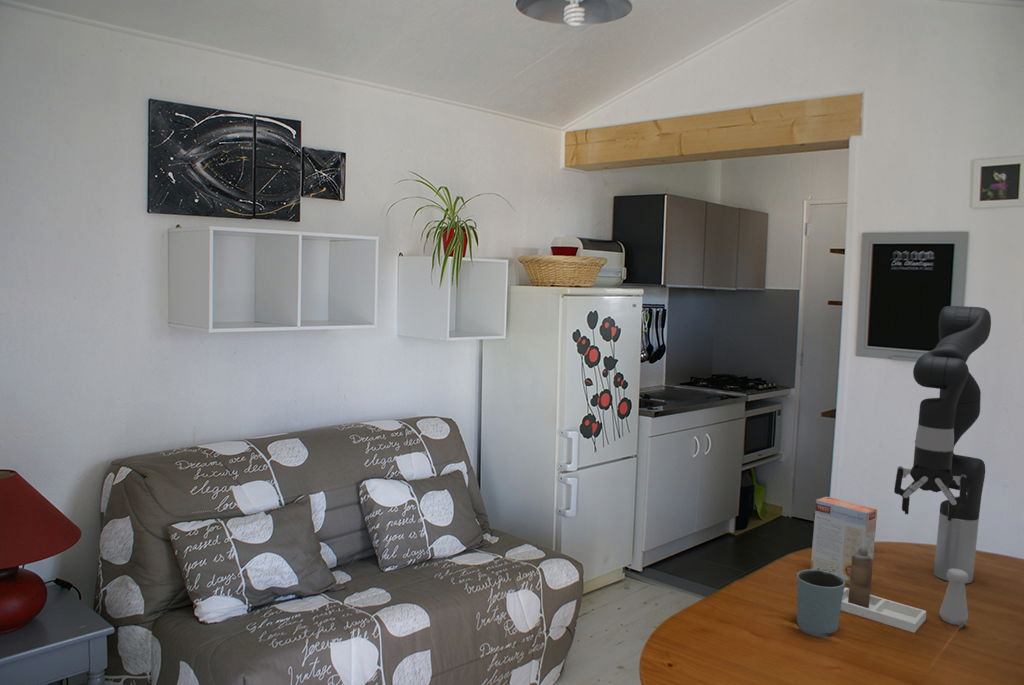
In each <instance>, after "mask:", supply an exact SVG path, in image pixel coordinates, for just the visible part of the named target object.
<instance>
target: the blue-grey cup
mask: <svg viewBox="0 0 1024 685" xmlns="http://www.w3.org/2000/svg"><path fill="white" fill-rule="evenodd" d="M845 586H846V584H845V581H844V579H843V578H841V577H840V576H838V575H836V574H834V573H831V572H827V571H823V570H815V569H811V568H810V569H809V568H808V569H803V570H800V571H798V572H797V573H796V588H797V594H796V595H797V596H796V607H797V608H796V612H797V613H796V623H797V624H796V626H797V627H798V629H799V630H800V629H801V630H800V631H802V632H803V633H806V634H808V635H809V636H810V635H811V636H813V637H819V638H831V637H833V635H831V634H832V633H835V632H837V631H838V628H839V624H840V622H839V619H840V615H841V611H842V610H841V603H842V596H843V592H844V588H846V587H845Z"/></svg>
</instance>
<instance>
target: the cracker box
mask: <svg viewBox="0 0 1024 685" xmlns="http://www.w3.org/2000/svg"><path fill="white" fill-rule="evenodd" d="M814 509H815V511H814V521H813V534H812V544H811V545H812V546H811V561H810V569H815V570H823V571H827V572H831V573H834V574H836V575H838V576H840V577H841V578H843V579H844V581H845V585H848V586H850V574H851V563H852V556H853V555H855V552H858V550H859V548H861V547H864V548H866V549H867V550H868V554H870V555H871V558H872V559H873V560H874V553H875V552H874V551H875V539H876V530H877V529H876V528H877V519H878V518H877V516H878V509H876V508H874V507H869V506H866V505H862V504H858V503H853V502H850V501H846V500H842V499H838V498H835V497H834V498H833V497H830V496H823V497H821V498H817V499H815V508H814Z"/></svg>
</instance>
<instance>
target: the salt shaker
mask: <svg viewBox="0 0 1024 685" xmlns="http://www.w3.org/2000/svg"><path fill="white" fill-rule="evenodd" d="M947 578H948V579H949V581H948V583H947V587H946V590H945V594H944V596H943V600H942V603H941V606H940V609H939V616H940V618H941V620H942V621H943V622H945V623H948V624H950V625H956V626H957V627H956V629H961V628H963V627H964V625H965V623H967V621H968V618H969V613H968V602H967V592H966V584H968V583H967V581H968V574H967V573H966V572H965V571H963V570H960V569H953V568H952V569H949V570H948V572H947Z"/></svg>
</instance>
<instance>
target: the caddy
mask: <svg viewBox="0 0 1024 685" xmlns="http://www.w3.org/2000/svg"><path fill="white" fill-rule="evenodd" d="M848 597H849V587H844V592H843V596H842V603H841V610H840V611H843V612H846V613H848V614H853V615H855V616H859V617H862V618H865V619H867V620H868V619H869V620H872V621H875V622H877V623H882V624H885V625H887V626H891V627H894V628H898V629H901V630H905V631H907V632H911V633H913V634H914V633H916V632H917V631H918V630H919V628H920V627H921V626H922V625H923V624H924V622H926V620H927V619H926V618H927V610H924V609H921V608H918V607H914V606H910V605H907V604H904V603H901V602H897V601H895V600H894V601H893V600H890V599H886V598H884V597H880V596H876V595H873V594H870V601H869V609H868V608H865V607H862V606H858V605H855V604H852V603H848Z"/></svg>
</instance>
